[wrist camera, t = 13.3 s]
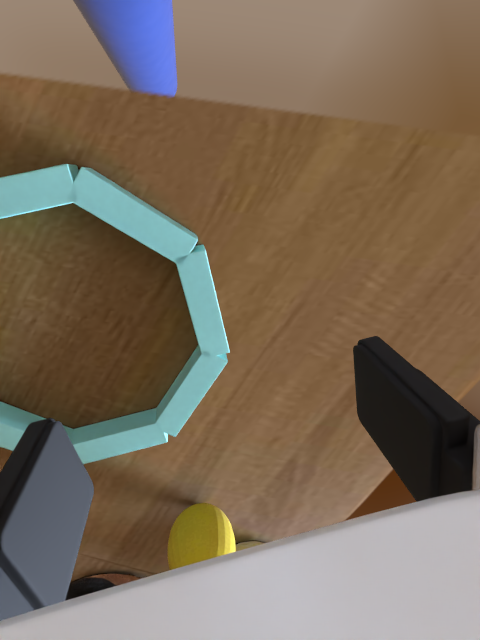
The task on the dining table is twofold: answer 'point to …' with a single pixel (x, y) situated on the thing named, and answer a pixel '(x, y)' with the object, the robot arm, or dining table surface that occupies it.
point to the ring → (179, 246)
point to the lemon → (199, 536)
